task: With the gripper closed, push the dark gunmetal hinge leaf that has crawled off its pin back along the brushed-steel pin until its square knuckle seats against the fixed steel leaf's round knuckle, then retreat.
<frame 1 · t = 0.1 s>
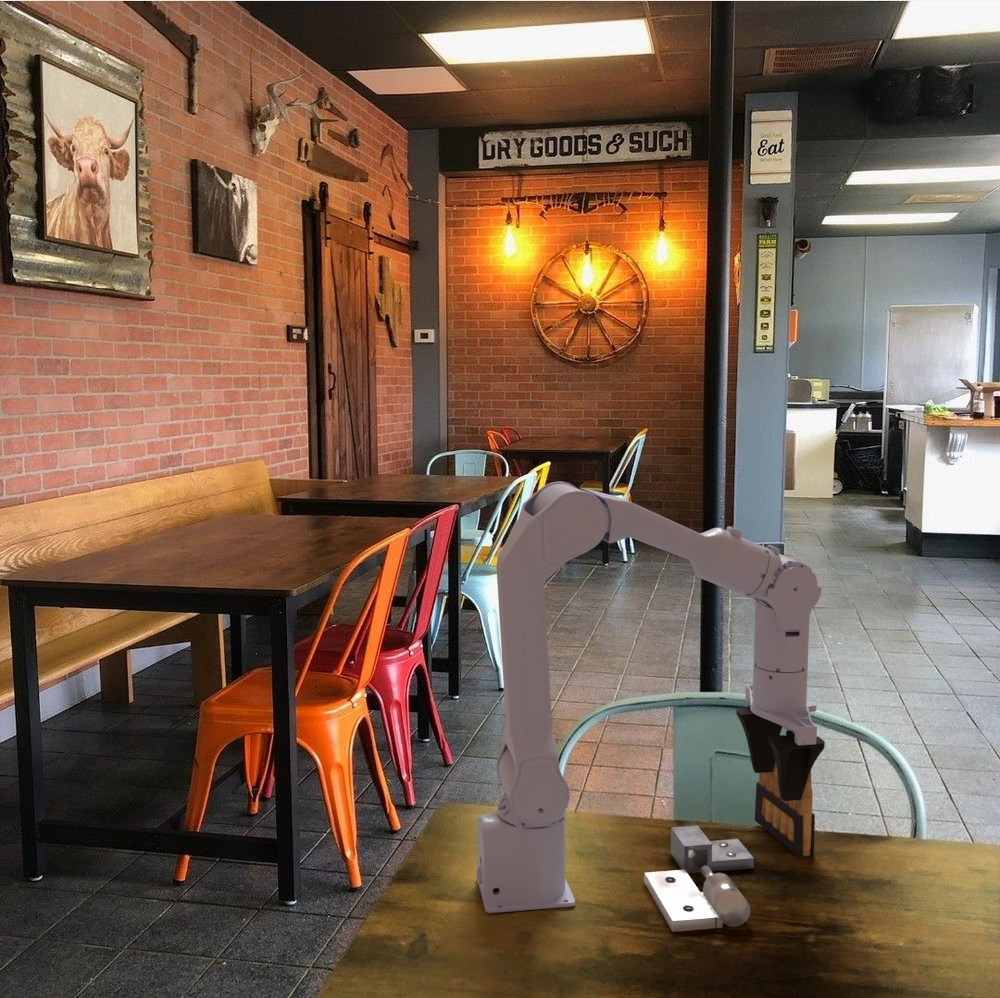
hand: (776, 785, 113), 10 cm above the table, fingers open, 7 cm apart
fixed leaf: (717, 901, 108), on the table
loose leaf: (711, 847, 116), point 2 cm above the table, slide at 6.0 cm
ammunition clip: (783, 840, 122), on the table
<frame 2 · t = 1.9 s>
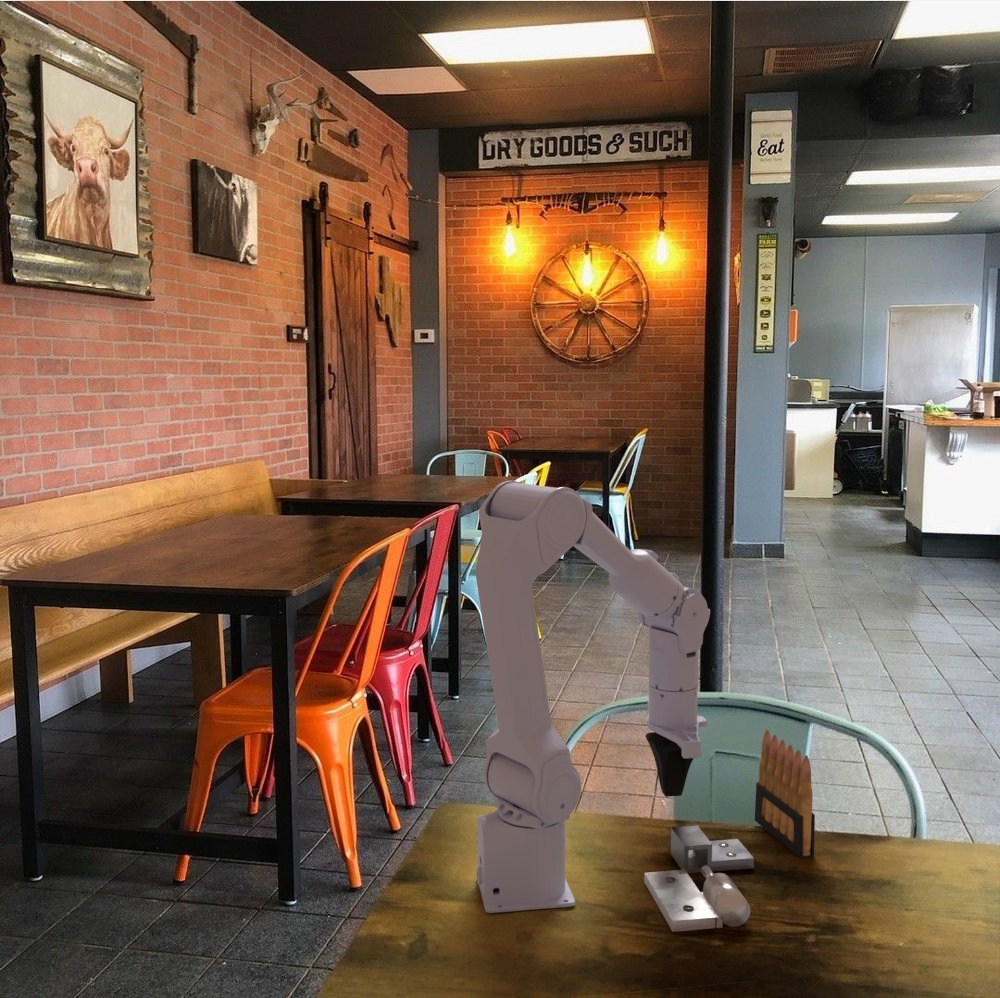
hand: (671, 794, 123), 5 cm above the table, fingers closed
nothing on the table moved.
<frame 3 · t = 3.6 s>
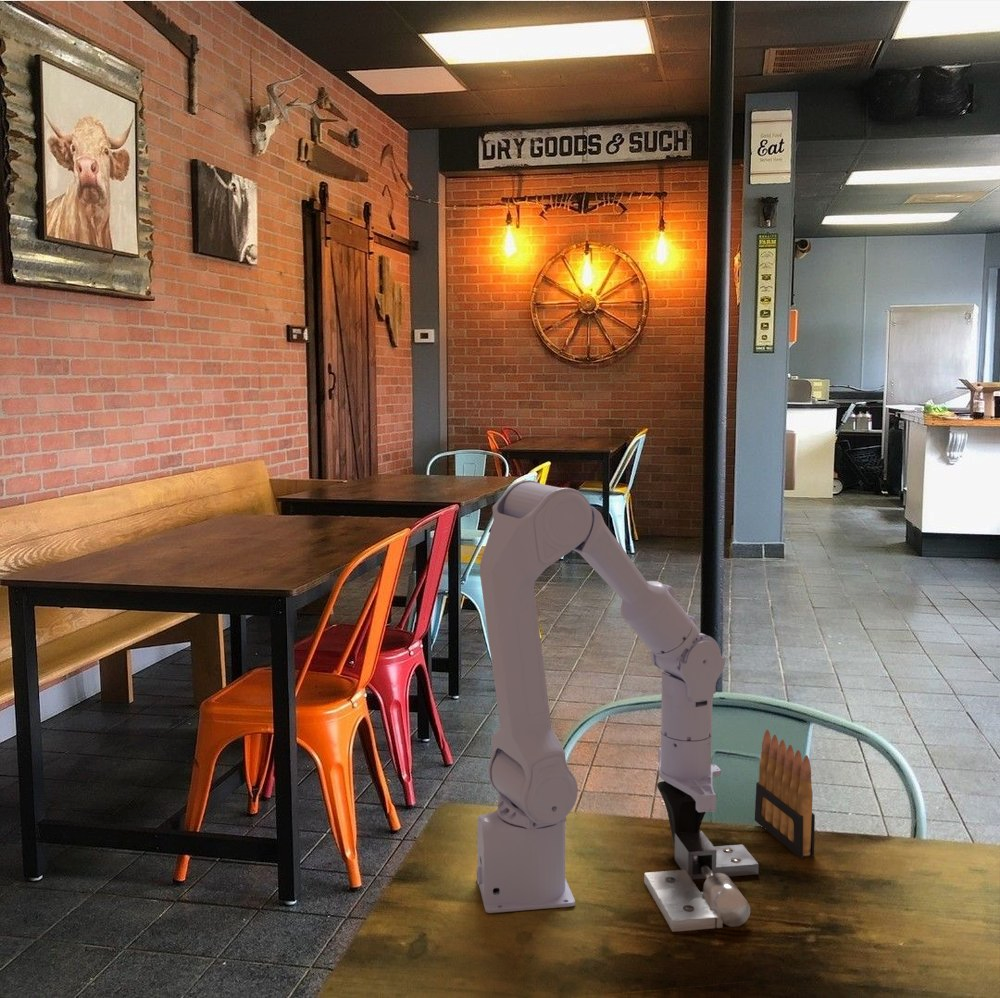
hand: (684, 845, 118), 1 cm above the table, fingers closed
loose leaf: (716, 853, 115), point 2 cm above the table, slide at 4.6 cm, touching gripper
everything else where it was.
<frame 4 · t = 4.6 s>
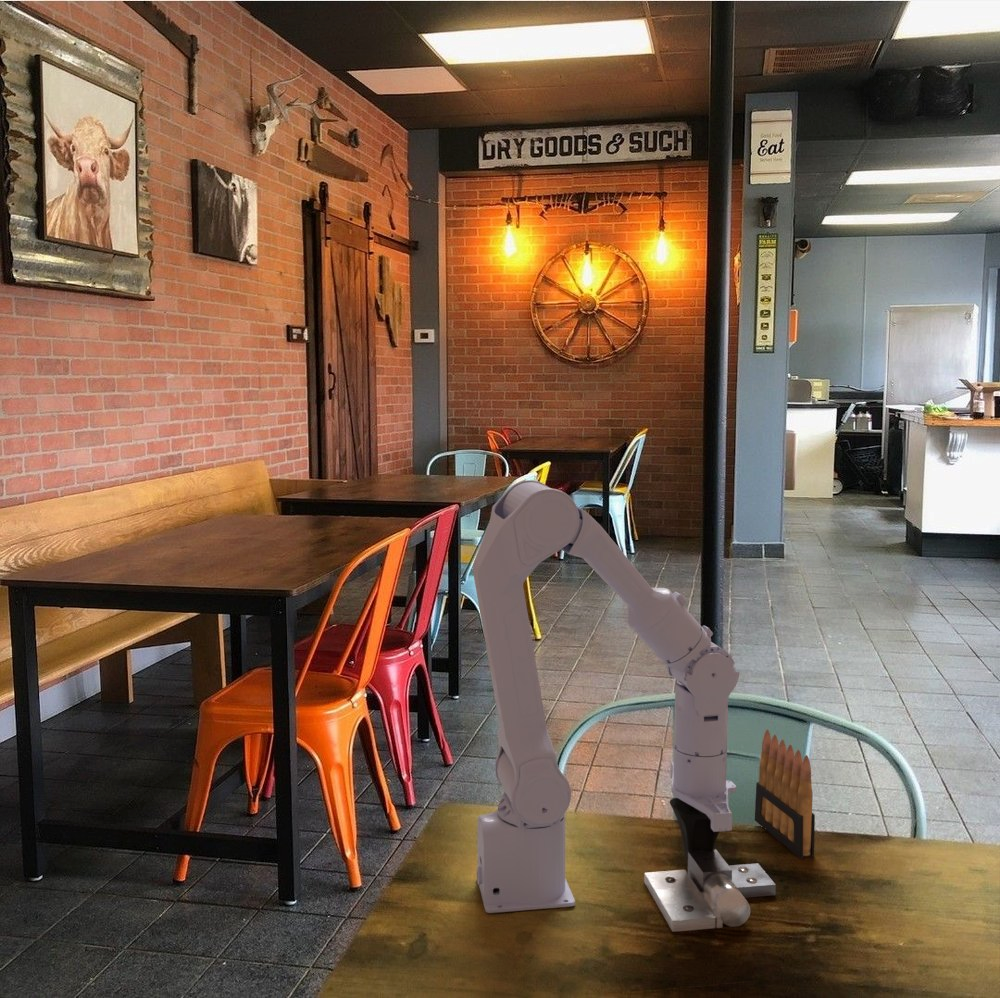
hand: (697, 865, 114), 1 cm above the table, fingers closed
loose leaf: (731, 873, 111), point 2 cm above the table, slide at 0.0 cm, touching gripper
everything else where it was.
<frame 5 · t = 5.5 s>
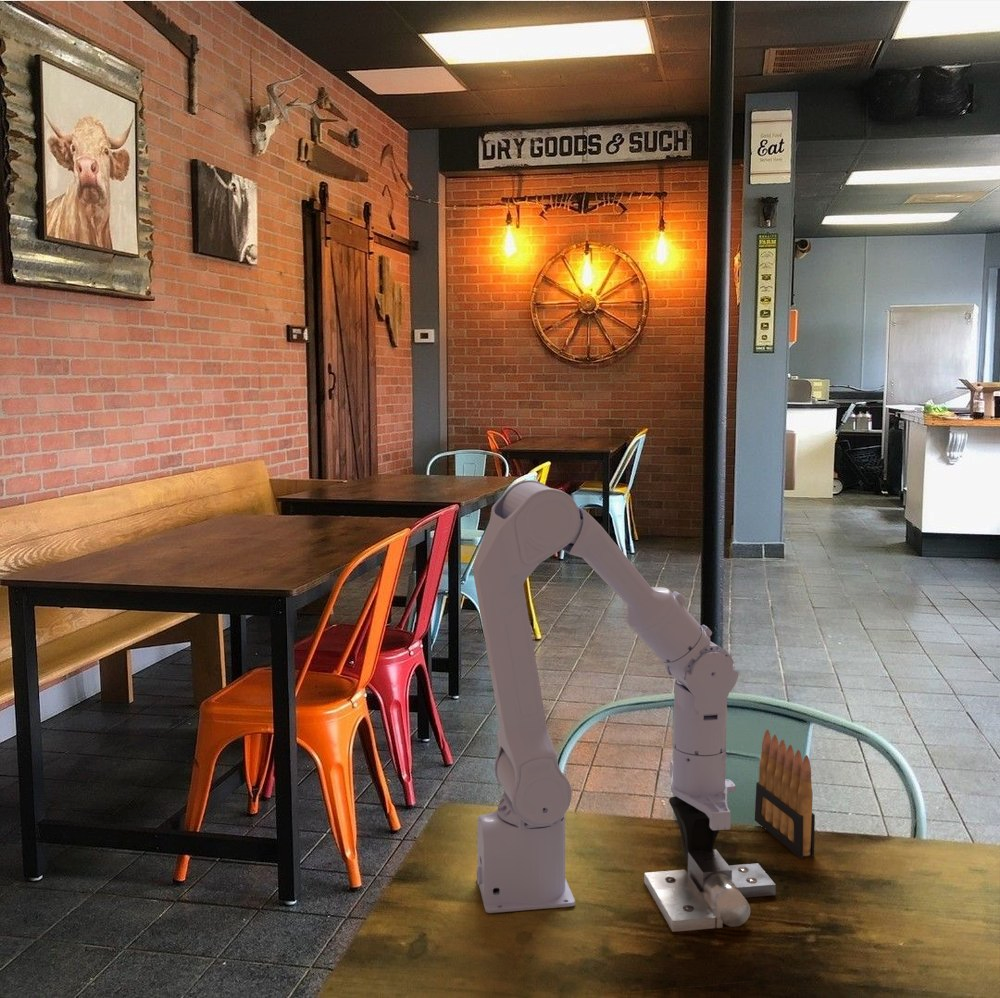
hand: (697, 863, 114), 1 cm above the table, fingers closed
loose leaf: (731, 872, 111), point 2 cm above the table, slide at 0.0 cm
everything else where it was.
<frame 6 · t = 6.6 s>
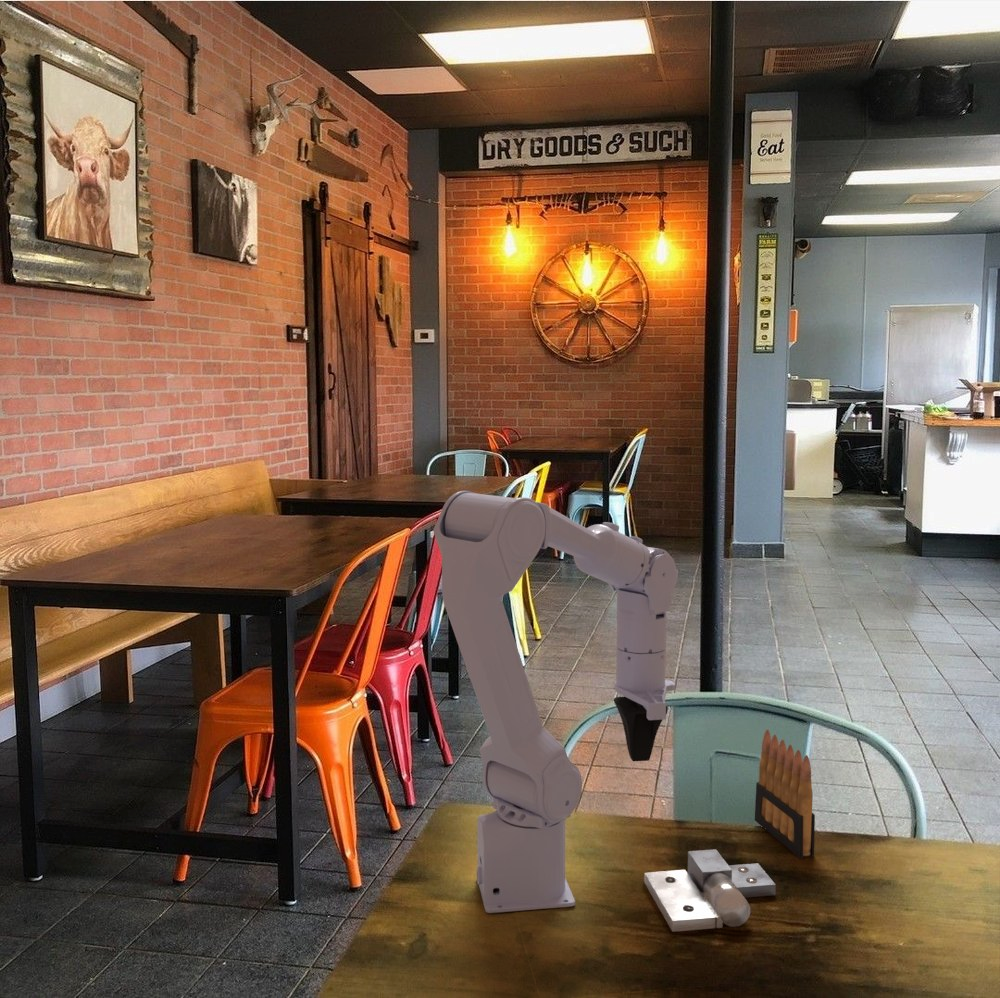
hand: (639, 759, 121), 10 cm above the table, fingers closed
nothing on the table moved.
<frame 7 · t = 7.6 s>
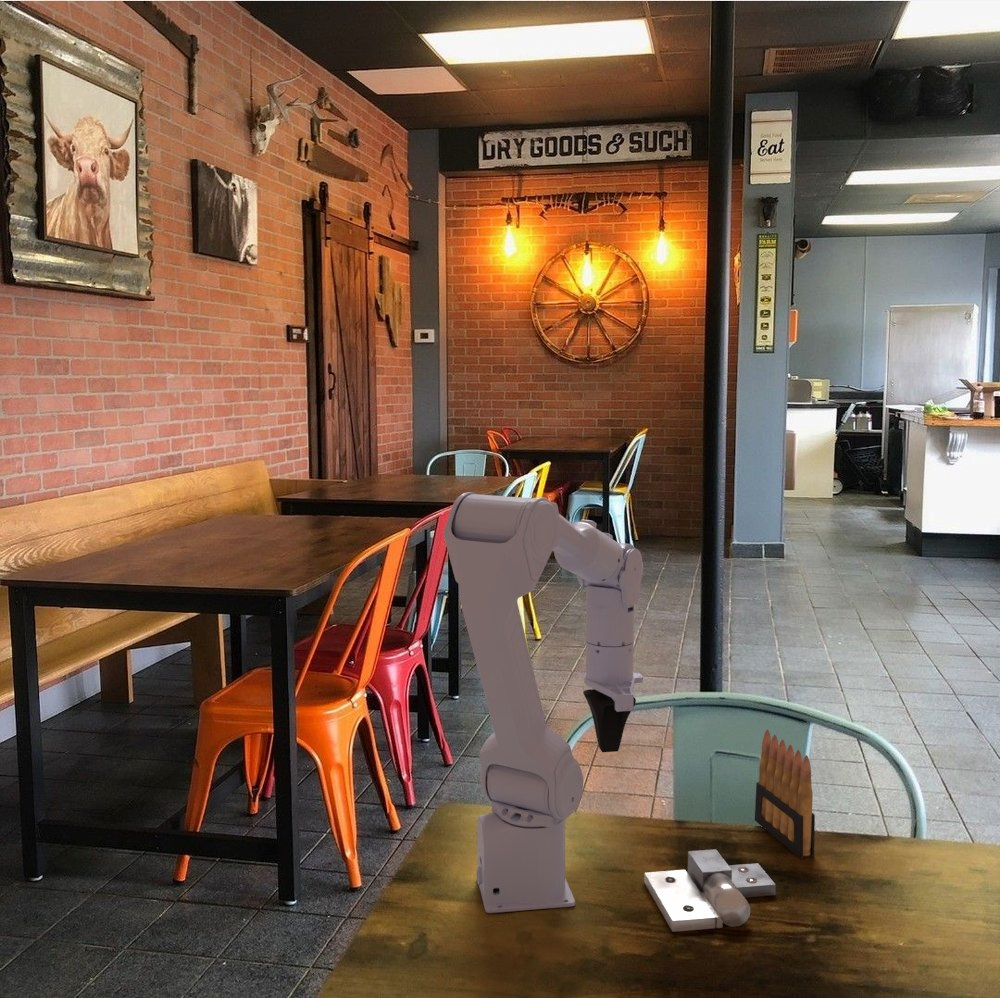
hand: (608, 749, 124), 10 cm above the table, fingers closed
nothing on the table moved.
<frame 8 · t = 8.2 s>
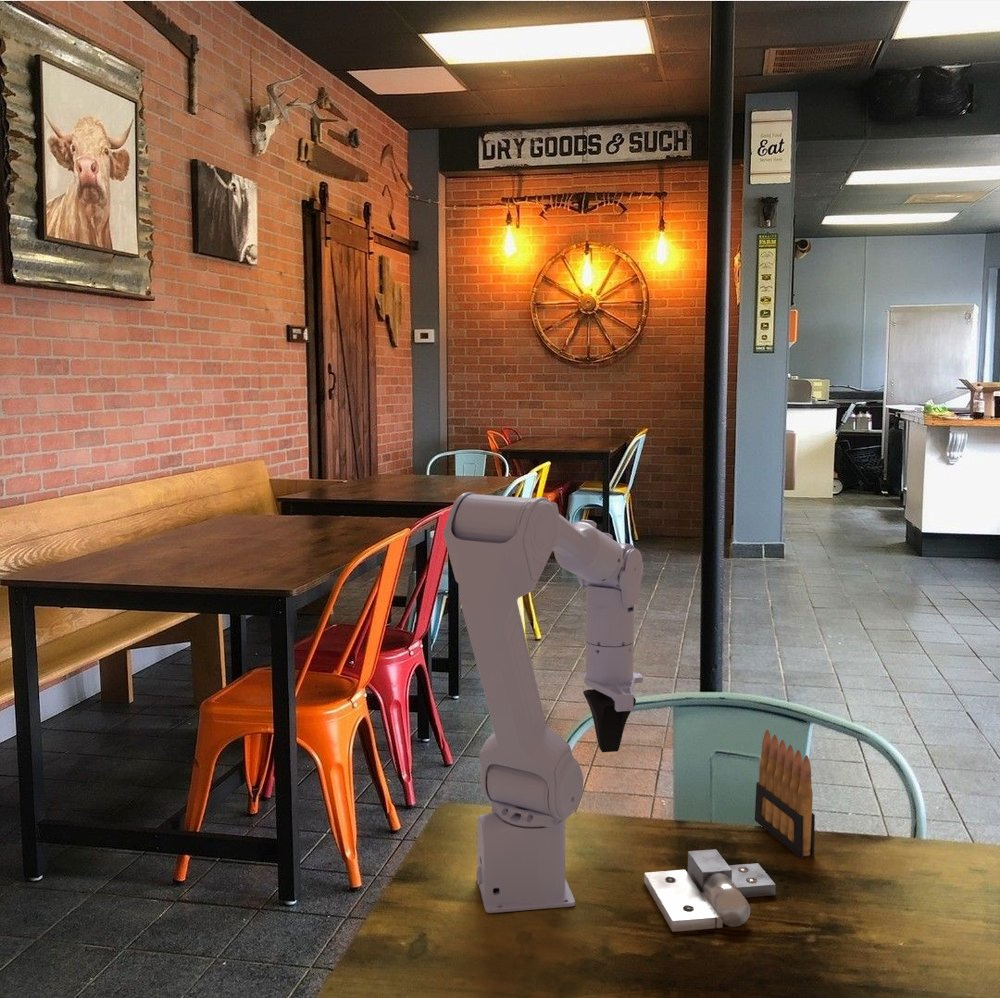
hand: (608, 749, 124), 10 cm above the table, fingers closed
nothing on the table moved.
at the end: loose leaf slide at 0.0 cm; ammunition clip moved 0.3 cm from its start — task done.
